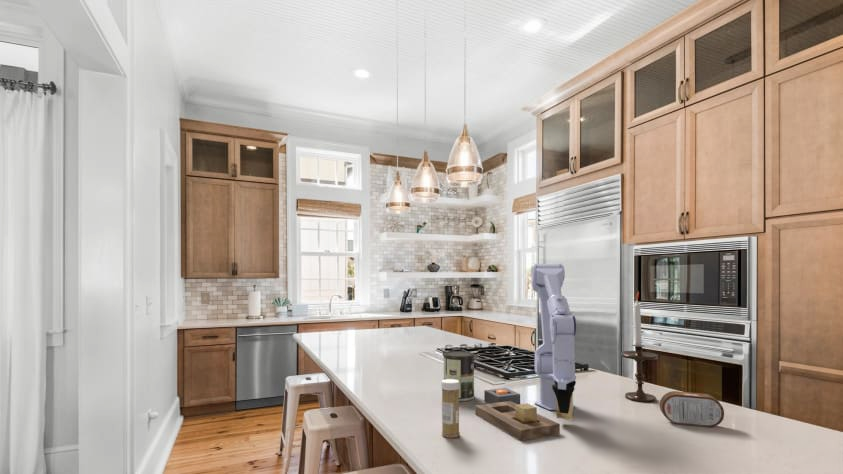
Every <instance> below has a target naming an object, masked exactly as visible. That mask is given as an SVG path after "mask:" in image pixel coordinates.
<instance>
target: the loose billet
mask: <svg viewBox="0 0 843 474" xmlns="http://www.w3.org/2000/svg"><path fill="white" fill-rule="evenodd" d="M573 393H574V392H573ZM573 393H572V395H571V399H570V407H569V412H568V414H566V413H560V411H559V407H558V402H557V398H556V410H555V412H556V418H557V419H565V420H573V419H574V418H573V417H574V407H573V405H574V394H573Z"/></svg>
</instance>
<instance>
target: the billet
mask: <svg viewBox="0 0 843 474" xmlns="http://www.w3.org/2000/svg"><path fill="white" fill-rule="evenodd" d="M537 414H538V407H537V406H534V405H532V404H530V403H527V402H525V403H520V404H519V405H515V420H516V421H518V422H520V423H522V424H529V423H536V422H537Z"/></svg>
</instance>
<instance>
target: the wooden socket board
mask: <svg viewBox="0 0 843 474" xmlns="http://www.w3.org/2000/svg"><path fill="white" fill-rule="evenodd" d="M515 405H518V404H516V403H514V402H512V401H506V402H498V403H490V404H488V403H485V404H477V405H474V408H475V409H474V412H475V413H474V414H475V415H476V416H477V417H479V418H481V419H482V418H483V419H482V420H485V422H488V423H489V424H491V425H493V426H495V427H496V428H498V429H500V430H502V432H504V433H506V434H507V435H510V436H511V437H512V438H515V439H517V441H519V442H521V441H527V440H533V439H539V438H540V439H541V438H544V437H545V438H546V437H550V436H556V435H560V434H561V428H560V427H561V425H560V423H559V422H556V421H555V420H552V419H550V418H548V417H546V416H543V415H541V414H539V413H537V422H536V423H529V424H522V423H520V422H518V421H516V420H515Z"/></svg>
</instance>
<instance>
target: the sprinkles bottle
mask: <svg viewBox="0 0 843 474" xmlns="http://www.w3.org/2000/svg"><path fill="white" fill-rule="evenodd" d="M441 392H442V393H441V399H442V400H441V422H442V423H441V424H442V425H441V426H442V430H441V431H442V432H441V435H442V436H443V437H445V438H450V439H452V438H453V439H454V438H457V437H459V436H460V433H461V432H460V401H459V381H458V380H455V379H445V380H444V379H442V380H441Z"/></svg>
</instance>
